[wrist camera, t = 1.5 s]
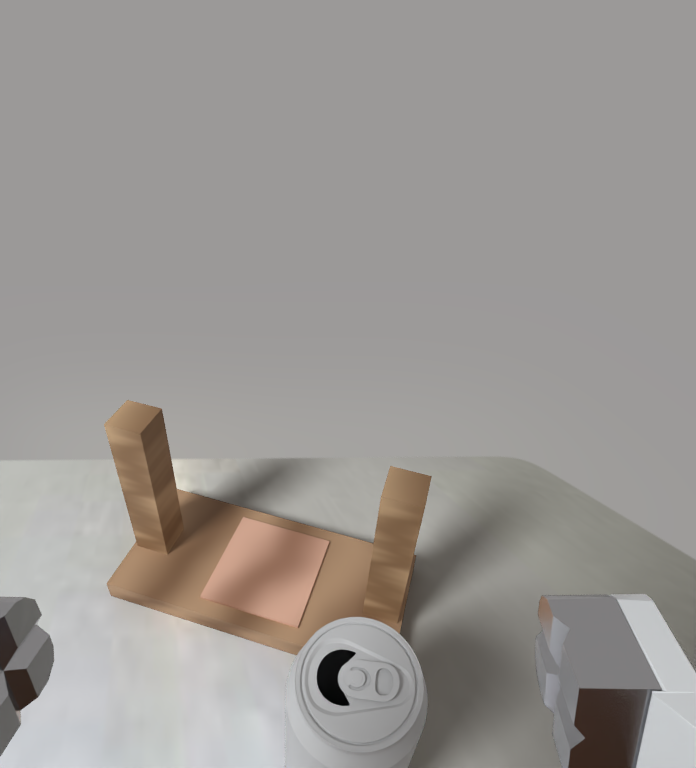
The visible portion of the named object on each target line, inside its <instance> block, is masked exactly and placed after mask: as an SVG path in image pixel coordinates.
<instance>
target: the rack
mask: <svg viewBox="0 0 696 768" xmlns="http://www.w3.org/2000/svg"><path fill="white" fill-rule="evenodd" d="M104 426H105V429H106V433H107V437H108V440H109V444H110V447H111V451H112V455H113V458H114V462H115V466H116V469H117V473H118V476H119V480H120V484H121V487H122V491H123V494H124V498H125V502H126V505H127V509H128V513H129V516H130V520H131V523H132V527H133V531H134V534H135V538H136V543H135V544H134V546H133V547H132V548H131V550H130V551H129V553H128V554H127V555H126V557H125V558H124V560H123V561H122V563H121V564H120V565H119V567H118V568H117V570H116V571H115V572H114V574H113V575H112V577H111V578H110V580H109V581H108V582H107V586H108V589H109V591H110V594H111V596H114V597H117V598H120V599H123V600H126V601H129V602H133V603H136V604H139V605H142V606H145V607H148V608H151V609H154V610H158V611H161V612H164V613H167V614H170V615H173V616H176V617H179V618H182V619H186V620H189V621H192V622H195V623H198V624H201V625H204V626H207V627H210V628H214V629H217V630H220V631H223V632H226V633H229V634H232V635H235V636H238V637H242V638H245V639H248V640H251V641H254V642H257V643H260V644H263V645H266V646H270V647H273V648H276V649H279V650H282V651H285V652H288V653H291V654H294V655H297V654H298V653H299V651H300V650H301V649H302V648H303V646H304V645H305V644H306V643H307V642H308V640H309V639H310V638H311V637H312V636H313V635H314V634H315V632H317V631H318V630H319V629H320V628H322V627H323V626H325V625H326V624H328V623H331V622H333V621H335V620H338V619H342V618H348V617H365V618H370V619H374V620H377V621H380V622H382V623H384V624H386V625H388V626H390V627H391V628H393V629H394V630H395V631H397V632H398V633H399V634H400V629H401V625H402V620H403V615H404V611H405V606H406V601H407V596H408V592H409V587H410V582H411V578H412V573H413V568H414V563H415V559H416V555H414V551H415V547H416V542H417V538H418V534H419V530H420V526H421V522H422V517H423V513H424V509H425V505H426V500H427V495H428V491H429V486H430V481H431V477H432V476H428V475H424V474H420V473H416V472H412V471H408V470H404V469H400V468H396V467H392V466H390V469H389V473H388V476H387V479H386V482H385V486H384V489H383V492H382V496H381V501H380V507H379V513H378V520H377V526H376V532H375V538H374V544H373V543H370V542H366V541H363V540H359V539H355V538H352V537H348V536H345V535H341V534H337V533H334V532H330V531H327V530H323V529H319V528H316V527H312V526H309V525H305V524H301V523H298V522H294V521H290V520H287V519H283V518H280V517H276V516H272V515H269V514H265V513H262V512H258V511H254V510H251V509H247V508H244V507H240V506H236V505H233V504H229V503H226V502H222V501H218V500H215V499H211V498H208V497H204V496H200V495H197V494H193V493H190V492H186V491H182V490H179V489H177V488H176V483H175V477H174V472H173V467H172V461H171V456H170V450H169V445H168V440H167V434H166V429H165V423H164V418H163V413H162V409H161V408H157V407H153V406H149V405H145V404H141V403H137V402H133V401H129V400H127V401H126V402H125V403H124V404H123V405H122V406H121V407H120V408H119V409H118V410H117V411H116V413H115V414H114V415H113V416H112V417H111V418H110V419H109V420H108V421H107V422H106V423H105V424H104Z"/></svg>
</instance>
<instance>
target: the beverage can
mask: <svg viewBox="0 0 696 768" xmlns="http://www.w3.org/2000/svg"><path fill="white" fill-rule="evenodd" d="M427 709H428V695H427V687H426V683H425V679H424V676H423V673H422V670H421V666H420V663H419V661H418V659H417V656H416V654H415V653H414V651H413V649H412V648H411V646H410V645H409V643H408V642H407V641H406V640H405V639H404V638H403V637H402V636H401V635H400V634H399V633H398V632H397V631H395V630H394V629H393V628H391V627H390V626H388V625H386V624H384V623H382V622H380V621H377V620H374V619H370V618H365V617H348V618H342V619H338V620H335V621H333V622H331V623H328V624H326V625H325V626H323V627H322V628H320V629H319V630H318V631H317V632H315V634H314V635H313V636H312V637H311V638H310V639H309V640H308V642H307V643H306V644H305V645H304V646H303V648H302V649H301V650H300V651H299V653H298V654H297V656H296V657H295V659H294V661H293V663H292V665H291V668H290V671H289V674H288V678H287V684H286V694H285V768H408V766H409V764H410V761H411V759H412V756H413V754H414V751H415V749H416V746H417V744H418V741H419V738H420V736H421V733H422V731H423V728H424V725H425V721H426V717H427Z"/></svg>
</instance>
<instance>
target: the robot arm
mask: <svg viewBox="0 0 696 768" xmlns="http://www.w3.org/2000/svg"><path fill="white" fill-rule="evenodd" d="M41 615H42V614H41V612H40V610H39V608H38V605H37V603H36V601H35V600H34V599H30V598H26V597H0V756H1V755H2V753H3V752H4V750H5V748H6V747H7V745H8V744H9V742H10V741H11V739H12V737H13V736H14V734H15V733H16V731H17V730H18V728H19V727H20V725H21V714H20V710H22V709H23V708H24V707H26V706H27V705H28V704H30V703H31V702H32V701H34V700H35V699H36V698H38V697H39V695H40V693H41V692H42V690H43V688H44V687H45V685H46V683H47V682H48V680H49V676H50V673H51V669H52V666H53V662H54V648H53V644H52V641H51V638H50V635H49V634H47V633H46V632H45V631H44V630H43V629H41V628H40V627H39V626H38V625H37V623H38V621H39V619H40V617H41ZM538 616H539V620H540V623H541V626H542V629H543V630H542V631H541V632H540V633H539V634H538V635H537V636H536V647H535V658H536V672H537V677H538V682H539V687H540V691H541V695H542V699H543V702H544V705H545V706H546V707H547V708H548V709H550V710H551V711H552V712H553V713H554V723H553V732H552V734H553V738H554V741H555V745H556V748H557V752H558V755H559V758H560V762H561V765H562V768H696V671H695V670H694V668H693V666H692V665H691V663H690V661H689V660H688V658H687V656H686V655H685V653H684V651H683V650H682V648H681V646H680V645H679V643H678V641H677V640H676V638H675V636H674V635H673V633H672V631H671V629H670V628H669V626H668V624H667V623H666V621H665V619H664V618H663V616H662V614H661V613H660V611H659V609H658V608H657V606H656V604H655V603H654V601H653V599H652V598H650V597H649V596H648V595H646V594H611V595H542V597H541V599H540V602H539V610H538Z"/></svg>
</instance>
